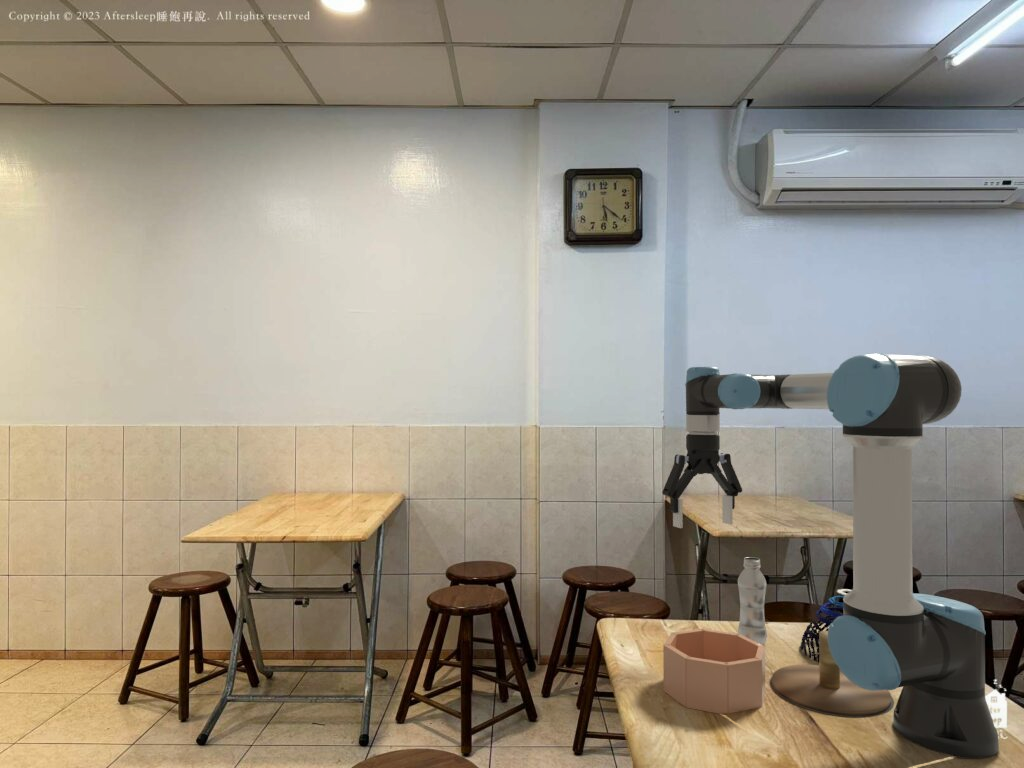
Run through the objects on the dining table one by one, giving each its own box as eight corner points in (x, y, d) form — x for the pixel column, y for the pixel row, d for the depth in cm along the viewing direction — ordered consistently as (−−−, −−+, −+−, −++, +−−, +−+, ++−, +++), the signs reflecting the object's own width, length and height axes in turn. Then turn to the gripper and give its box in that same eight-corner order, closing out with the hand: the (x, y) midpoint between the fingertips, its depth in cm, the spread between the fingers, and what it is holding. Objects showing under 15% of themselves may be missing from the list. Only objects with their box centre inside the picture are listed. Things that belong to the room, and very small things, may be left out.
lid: (917, 705, 128) (917, 645, 128) (829, 723, 120) (829, 660, 121) (829, 663, 147) (829, 612, 148) (749, 677, 140) (749, 623, 140)
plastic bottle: (769, 643, 161) (769, 557, 161) (764, 652, 155) (763, 563, 155) (741, 638, 164) (740, 554, 164) (734, 647, 158) (734, 560, 158)
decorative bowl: (918, 678, 141) (917, 608, 141) (815, 672, 144) (815, 603, 145) (881, 643, 161) (881, 582, 161) (792, 639, 164) (791, 578, 164)
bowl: (784, 704, 129) (784, 656, 129) (703, 720, 122) (703, 669, 123) (723, 668, 146) (723, 625, 146) (648, 680, 139) (648, 635, 140)
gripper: (736, 431, 167) (737, 519, 167) (647, 433, 158) (647, 525, 158) (757, 433, 160) (758, 524, 159) (665, 435, 151) (665, 531, 151)
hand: (702, 525), depth 159 cm, fingers open, 13 cm apart
